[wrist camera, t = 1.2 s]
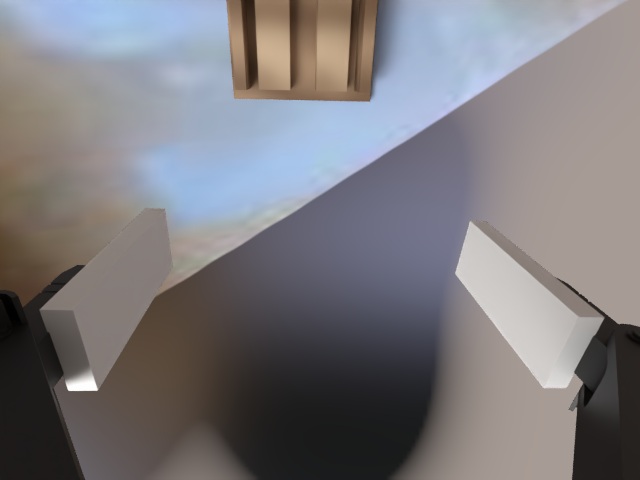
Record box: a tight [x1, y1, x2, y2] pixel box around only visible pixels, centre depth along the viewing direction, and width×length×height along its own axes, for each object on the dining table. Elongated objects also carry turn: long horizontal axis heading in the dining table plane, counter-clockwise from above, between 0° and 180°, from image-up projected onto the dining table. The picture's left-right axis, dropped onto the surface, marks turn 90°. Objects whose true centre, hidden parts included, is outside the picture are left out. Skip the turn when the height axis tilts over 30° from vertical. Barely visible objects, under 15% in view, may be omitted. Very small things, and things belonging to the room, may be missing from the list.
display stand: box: [227, 0, 378, 102], centre depth 31 cm, size 16×14×4 cm
